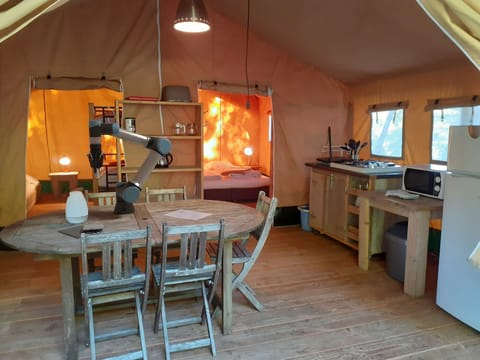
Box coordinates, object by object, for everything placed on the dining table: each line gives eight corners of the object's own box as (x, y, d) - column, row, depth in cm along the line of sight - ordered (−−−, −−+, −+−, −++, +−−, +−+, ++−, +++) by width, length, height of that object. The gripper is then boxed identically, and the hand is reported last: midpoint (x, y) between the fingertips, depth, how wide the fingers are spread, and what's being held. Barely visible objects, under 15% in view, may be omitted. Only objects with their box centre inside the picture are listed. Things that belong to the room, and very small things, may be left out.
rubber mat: (82, 226, 242) (82, 225, 242) (102, 231, 230) (102, 231, 230) (58, 231, 230) (58, 230, 229) (78, 238, 217) (78, 237, 217)
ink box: (84, 228, 235) (82, 233, 224) (84, 224, 235) (81, 229, 224) (104, 227, 238) (102, 232, 227) (103, 223, 238) (102, 228, 227)
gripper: (90, 144, 243) (91, 179, 246) (107, 143, 253) (108, 177, 257) (83, 143, 247) (85, 178, 251) (100, 142, 258) (102, 176, 261)
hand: (97, 178), depth 254 cm, fingers closed
